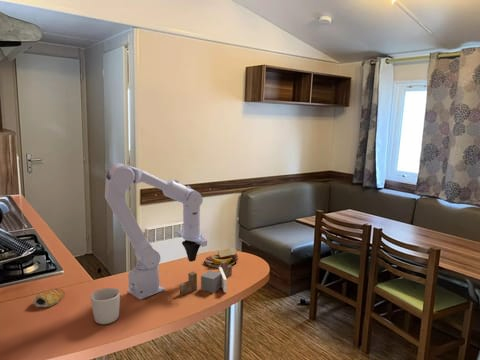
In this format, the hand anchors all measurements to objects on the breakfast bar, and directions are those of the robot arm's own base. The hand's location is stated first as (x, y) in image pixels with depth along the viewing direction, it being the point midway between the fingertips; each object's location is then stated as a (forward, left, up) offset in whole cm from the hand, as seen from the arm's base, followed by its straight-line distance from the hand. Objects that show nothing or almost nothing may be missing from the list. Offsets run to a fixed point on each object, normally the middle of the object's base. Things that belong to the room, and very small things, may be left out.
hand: (192, 260), depth 131 cm
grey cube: (+1, -9, -8) cm, 12 cm away
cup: (-33, -2, -8) cm, 34 cm away
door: (+5, -10, -7) cm, 14 cm away
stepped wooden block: (+2, -6, -7) cm, 10 cm away
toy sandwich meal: (+19, +5, -8) cm, 21 cm away
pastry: (-42, +19, -8) cm, 47 cm away
